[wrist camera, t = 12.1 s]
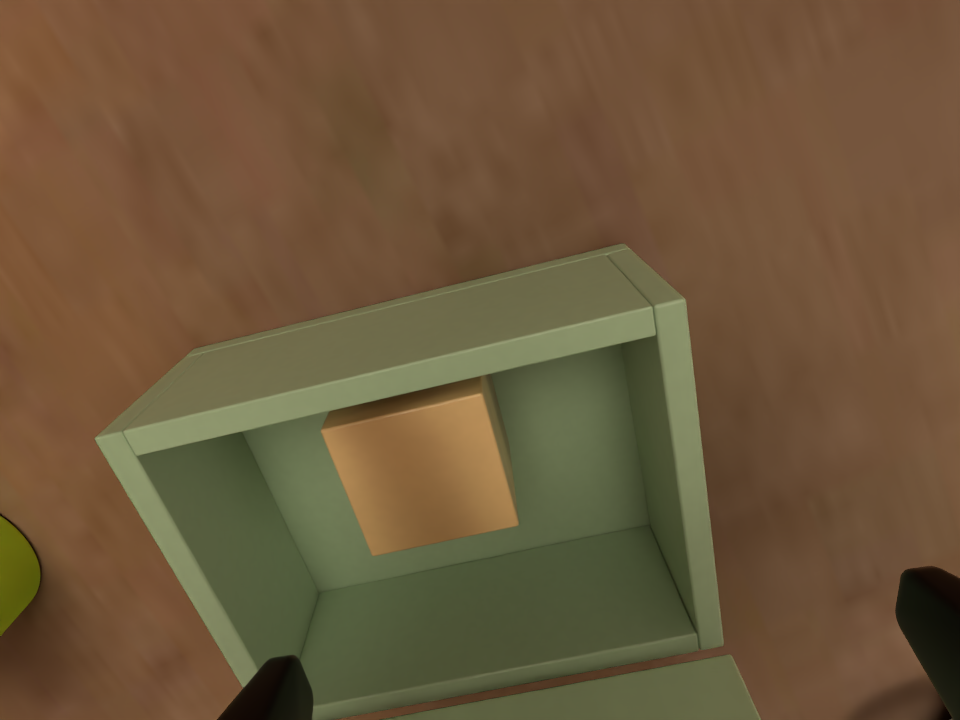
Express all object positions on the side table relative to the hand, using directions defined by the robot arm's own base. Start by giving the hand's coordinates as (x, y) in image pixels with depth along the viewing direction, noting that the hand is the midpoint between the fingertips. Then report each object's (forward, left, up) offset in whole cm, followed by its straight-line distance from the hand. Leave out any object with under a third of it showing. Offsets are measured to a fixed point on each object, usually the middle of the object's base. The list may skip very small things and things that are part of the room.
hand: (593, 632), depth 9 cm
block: (-3, +2, -10) cm, 10 cm away
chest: (-4, 0, -11) cm, 11 cm away
